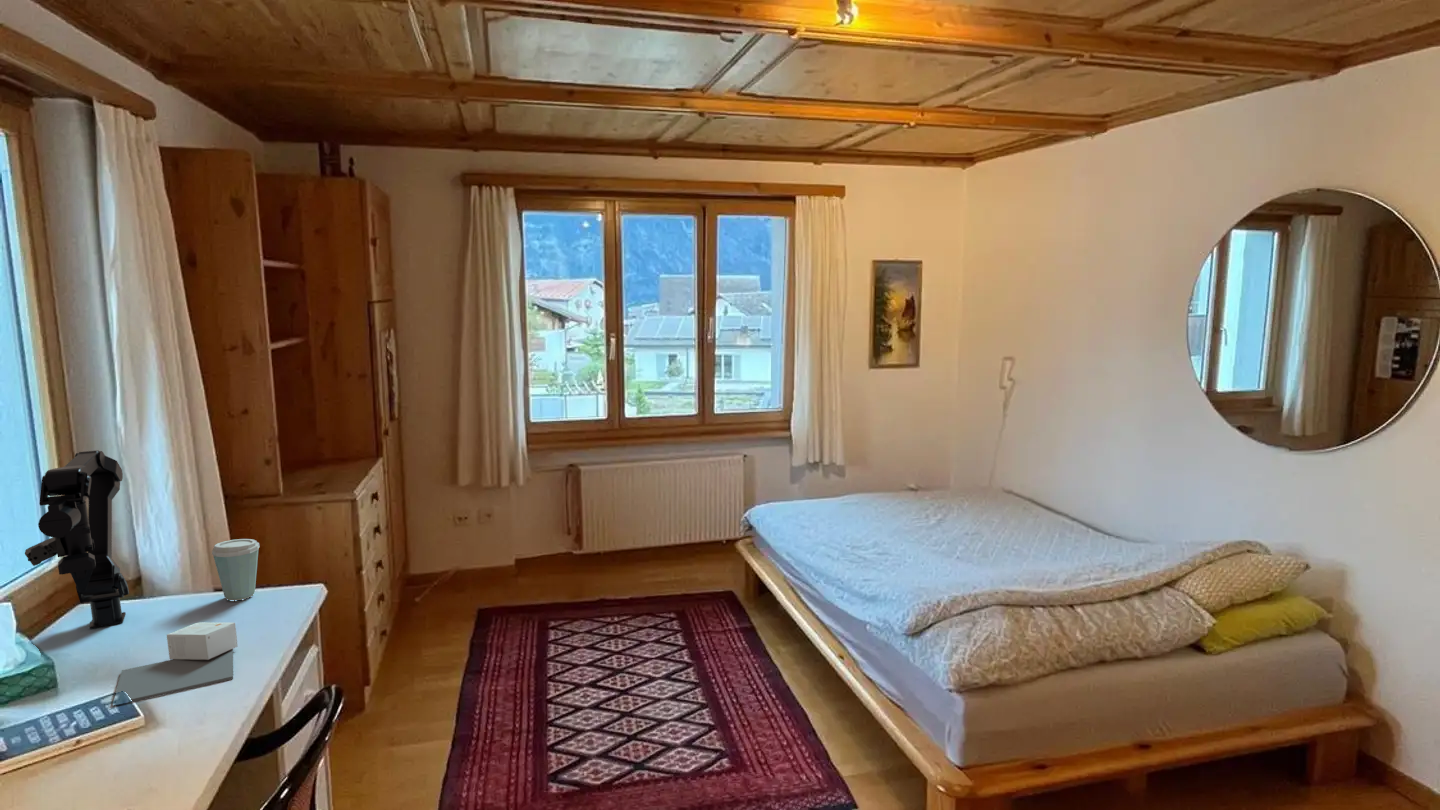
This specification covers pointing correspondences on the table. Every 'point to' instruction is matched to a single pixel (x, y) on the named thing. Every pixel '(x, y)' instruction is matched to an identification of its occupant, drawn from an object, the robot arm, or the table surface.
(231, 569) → the disposable coffee cup
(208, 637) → the small box
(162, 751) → the table surface
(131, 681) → the charcoal mat
